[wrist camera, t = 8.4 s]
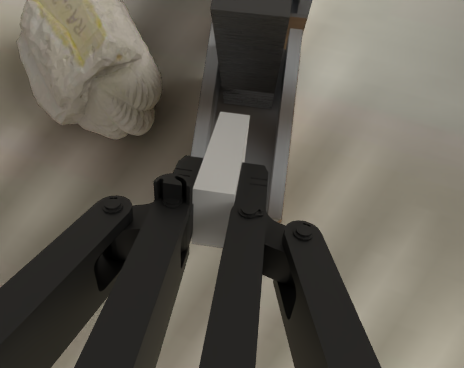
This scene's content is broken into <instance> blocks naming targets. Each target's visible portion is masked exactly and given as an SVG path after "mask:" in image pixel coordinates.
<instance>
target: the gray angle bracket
mask: <svg viewBox="0 0 464 368" xmlns="http://www.w3.org/2000/svg"><path fill="white" fill-rule="evenodd" d="M291 4H292V0H212V3H211V16H212V23H213V30H214V37H215V43H216V50H217V57H218V64H219V71H220V78H221V85H222V92H223V98H224V103H225V104H234V105H242V106H251V107H260V108H268V109H271V108H272V103H273V98H274V93H275V88H276V83H277V78H278V73H279V68H280V63H281V58H282V53H283V49H284V44H285V39H286V34H287V29H288V24H289V19H290V12H291Z"/></svg>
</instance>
